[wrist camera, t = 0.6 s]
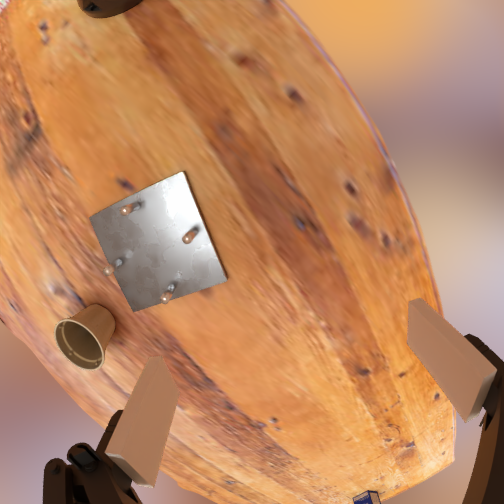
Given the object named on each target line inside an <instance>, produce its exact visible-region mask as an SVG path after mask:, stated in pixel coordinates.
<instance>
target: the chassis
mask: <svg viewBox="0 0 504 504" xmlns="http://www.w3.org/2000/svg"><path fill="white" fill-rule="evenodd" d="M89 219H90V221H91V224H92V226H93V228H94V231H95V233H96V236H97V238H98V240H99V243H100V245H101V247H102V250H103V252H104V254H105V256H106V258H107V261H108V263H109V265H108V266H107V267H105V268H104V269H103V273H104V275H105V276H109V275H110V274H112V273H114V275H115V277H116V279H117V282H118V284H119V286H120V287H121V289H122V291H123V293H124V295H125V297H126V299H127V301H128V303H129V305H130V307H131V309H132V310H133V312H136V311H139V310H142V309H145V308H148V307H151V306H154V305H157V304H160V303H163V304H167V303H168V301H169V300H172V299H175V298H178V297H181V296H184V295H187V294H190V293H193V292H196V291H199V290H202V289H205V288H208V287H211V286H214V285H217V284H220V283H223V282H226V281H227V280H228V277H227V274H226V272H225V270H224V267H223V265H222V262H221V260H220V258H219V255H218V253H217V251H216V248H215V246H214V243H213V241H212V238H211V236H210V234H209V231H208V229H207V226H206V224H205V221H204V219H203V216H202V214H201V211H200V209H199V206H198V204H197V201H196V199H195V196H194V194H193V191H192V189H191V186H190V184H189V181H188V178H187V176H186V173H185V171H183V172H180V173H178V174H176V175H173V176H171V177H169V178H167V179H165V180H162V181H160V182H158V183H156V184H154V185H152V186H149V187H147V188H145V189H143V190H141V191H139V192H137V193H135V194H133V195H131V196H129V197H127V198H125V199H123V200H121V201H119V202H117V203H115V204H113V205H111V206H110V207H108V208H106V209H104V210H102V211H100V212H98V213H97V214H95V215H93V216H91V217H89Z"/></svg>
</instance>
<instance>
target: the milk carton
mask: <svg viewBox="0 0 504 504" xmlns="http://www.w3.org/2000/svg"><path fill="white" fill-rule="evenodd" d="M353 501H354V504H381V502H380V499H379V496H378V493H377V491H369V490H368V491H366V492H364V493H362V494H360V495H358V496H356V497H354V498H353Z"/></svg>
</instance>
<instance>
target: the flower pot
mask: <svg viewBox="0 0 504 504" xmlns="http://www.w3.org/2000/svg"><path fill="white" fill-rule="evenodd" d="M114 330H115V320H114V318H113V316H112V314H111V313H110V312H109V310H107V309H106V308H104V307H102V306H100V305H98V304H93V305H90V306H88V307H87V308H85V309H84V310H82V311H81V312H79V313H78V314H76V315H75V316H73V317H70V318H67V319H62V320H60V321H59V322H58V323H57V324H56V326H55V329H54V338H55V341H56V344H57V346H58V348H59V350H60V352H61V353H62V354H63V355H64V357H65V358H66V359H67V360H68V361H69V362H71V363H72V364H73V365H75V366H77V367H78V368H80V369H83V370H86V371H96V370H98V369H100V368H101V367H102V365H103V364H104V360H105V350H106V347H107V345H108V343H109V341H110V339H111V336H112V334H113V332H114Z"/></svg>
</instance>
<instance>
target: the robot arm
mask: <svg viewBox="0 0 504 504" xmlns="http://www.w3.org/2000/svg"><path fill="white" fill-rule="evenodd" d="M141 1H142V0H77V2H78V5H79V7H80V8H81V10H82V11H84V12H85V13H86V14H87V15H89V16H91V17H94V18H106V17H111V16H114V15H117V14H120V13H122V12H124V11H126V10H128V9H130V8H132V7H134V6H135V5H137V4H138V3H140V2H141ZM407 344H408V346H409V347H410V348H411V349H412V351H413V352H414V353H415V355H416V356H417V357H418V358H419V360H420V361H421V362H422V364H423V365H424V366H425V368H426V369H427V370H428V372H429V373H430V374H431V376H432V377H433V378H434V380H435V381H436V382H437V384H438V385H439V386H440V388H441V389H442V390H443V392H444V393H445V395H446V396H447V397H448V399H449V400H450V402H451V403H452V404H453V406H454V407H455V409H456V410H457V412H458V413H459V414H460V416H461V417H462V419H463V420H464V422H465V423H467V422H468V421H470V420H471V419H473V418H475V417H477V416H478V415H479V413H480V411H481V409H482V407H484V409H485V410H486V413H485V415H484V417H483V419H482V421H481V423H480V425H479V426H482V424H483V427H482V433H481V439H480V443H479V448H478V453H477V457H476V461H475V465H474V468H473V472H472V476H471V479H470V482H469V486H468V489H467V492H466V494H465V498H464V500H463V503H462V504H504V362H503V361H502V360H501V359H500V358H499V357H498V356H497V355H496V354H495V353H494V352H493V351H492V350H491V349H489V347H488V346H487V345H485V344H484V343H483V342H482V341H481V340H480V339H479V338H478V337H475V336H473V335H471V334H467V335H465V336H463V335H461V333H459V332H458V331H457V330H456V329H455V328H454V327H453V326H452V325H451V324H450V323H449V322H447V321H446V320H445V319H444V318H443V317H442V316H441V315H440V314H439V313H437V312H436V311H435V310H434V309H433V308H432V307H431V306H430V305H428V304H427V303H426V302H425V301H424V300H423V299H421V298H418V299H415V300H412V301H409V309H408V333H407ZM179 395H180V391H179V389H178V387H177V385H176V383H175V381H174V379H173V377H172V375H171V373H170V371H169V369H168V367H167V365H166V363H165V361H164V359H163V357H162V356H154V357H149V359H148V361H147V363H146V365H145V367H144V369H143V371H142V373H141V375H140V377H139V379H138V381H137V383H136V385H135V387H134V390H133V392H132V394H131V396H130V398H129V400H128V402H127V404H126V406H125V408H124V410H118V411H117V412H116V413H115V414H114V415H113V416H112V417H111V419H110V421H109V423H108V426H107V428H106V430H105V432H104V434H103V436H102V438H101V440H100V442H99V444H98V447H97V449H96V451H94V450H93V449H92V447H91V446H90V445H89V444H87V443H78V444H75V445H74V446H72V447H71V448H70V449H69V451H68V453H67V460H68V461H69V462H71V463H72V464H71V465H67V464H66V463H65V462H64V461H63V460H62V459H59V458H54V459H52V460H50V461H49V462H48V463H47V464H46V466H45V469H44V482H43V504H142V502H141V500H140V499H139V497H138V496H137V494H136V492H135V490H134V489H133V488H132V487H131V482H132V480H133V481H134V482H135V483H136V484H137V485H138V486H143V487H150V488H154V486H155V482H156V478H157V474H158V471H159V467H160V463H161V459H162V456H163V452H164V448H165V445H166V441H167V437H168V434H169V430H170V426H171V423H172V419H173V416H174V412H175V409H176V405H177V402H178V398H179Z"/></svg>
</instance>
